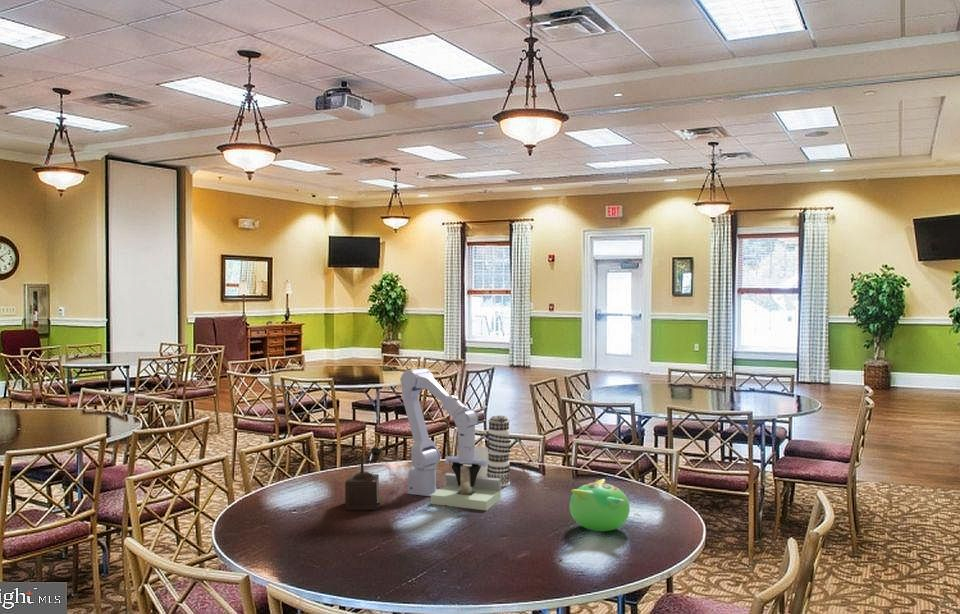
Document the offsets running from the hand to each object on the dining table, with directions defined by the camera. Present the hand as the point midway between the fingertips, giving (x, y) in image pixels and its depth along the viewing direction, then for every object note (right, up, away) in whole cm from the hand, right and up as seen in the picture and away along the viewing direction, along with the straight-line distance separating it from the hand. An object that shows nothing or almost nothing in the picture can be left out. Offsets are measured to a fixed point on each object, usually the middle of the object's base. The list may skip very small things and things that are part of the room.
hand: (466, 485), depth 249 cm
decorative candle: (+12, -5, +23) cm, 26 cm away
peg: (0, -3, 0) cm, 3 cm away
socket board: (0, -5, 0) cm, 5 cm away
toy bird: (+41, -7, -28) cm, 50 cm away
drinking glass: (+4, -5, +15) cm, 16 cm away
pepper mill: (-34, -6, -3) cm, 35 cm away
